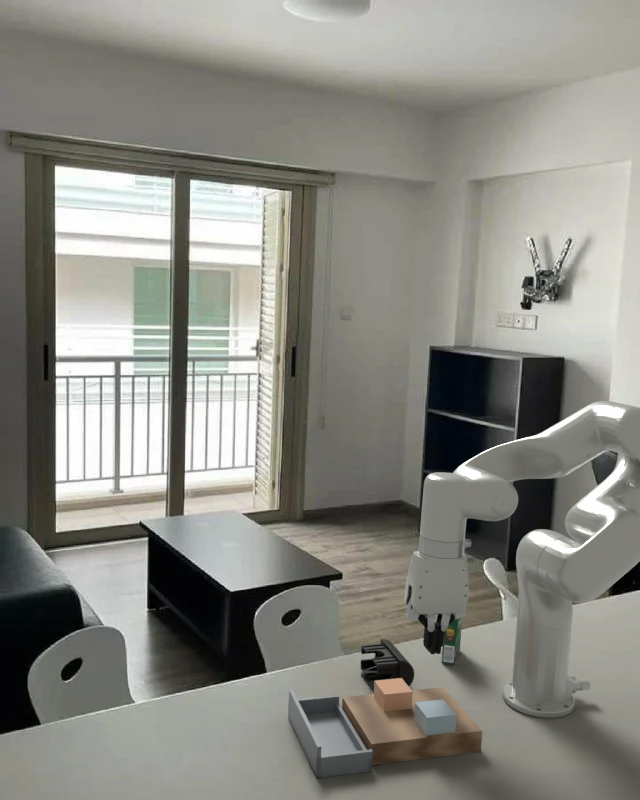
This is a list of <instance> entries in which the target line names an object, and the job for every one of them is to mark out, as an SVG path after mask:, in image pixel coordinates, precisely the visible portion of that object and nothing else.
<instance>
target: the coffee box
mask: <svg viewBox="0 0 640 800" xmlns="http://www.w3.org/2000/svg"><path fill="white" fill-rule="evenodd" d="M462 622H463V617H462V618H458V619H454V620H453V621H452V622H451V623H450V624H449V625H448V628H447V630H446V631H444V640H443V646H442V648H441V663H444V664H443V665H448V664H450V665H449V666H453V665H454V666H455V665H456V662H457V659H458V656H459V654H460V651H461V638H462Z"/></svg>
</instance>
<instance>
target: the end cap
mask: <svg viewBox="0 0 640 800" xmlns="http://www.w3.org/2000/svg"><path fill="white" fill-rule="evenodd" d="M379 641H380V643H377V644H376V643H375V644H365V645H361V647H360V649H361V650H360V653H361V655H366V654H367V655H368V654H374V657H371V658H363V659H360V670H361V672H360V676H361V678H362V679H363V680H364V682H365V683H366V684H367V686H368V687H369V688H370V690H371V691H372V694H374V681H376V680H386V679H397V678H402V679H403V680H404V681H405V683H406V684H407V685H408V686H409V687H410V686H412V683H413V681H414V679H415V670H414V667H413V666H412V664H411V663H410V662H409V661H408V660H407V659H406V657H405V656H404V655H403V654H402V653H401V651H400V650H399V649H398V648H397V647H396V646H395V645H394V644H393V642H391V640H388V639H385V638H380V640H379Z"/></svg>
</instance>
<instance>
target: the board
mask: <svg viewBox="0 0 640 800" xmlns="http://www.w3.org/2000/svg"><path fill="white" fill-rule="evenodd" d="M411 690H412V691H413V694H412V709H403V710H394V711H383V710H382V708H381V707H380V706H379V704H378V703H377V701H376V700H375V698H374V693H372V694H364V695H363V694H362V695H352V696H344V697H342V699H341V700H342V701H341V703H342V704H341V707H342V709H343V711H344V712H345V714H346V716H347V717H348V719H349V721H350V722H351V724H352V726H353V727H354V729H355V731H356V732H357V734H358V736H359V737H360V739H361V741H362V742H363V744H364V746H365V747H366V749H367V750H370V749H372V751H373V758H372V766H375V765H383V764H390V763H399V762H407V761H413V760H414V761H417V760H423V759H430V758H440V757H445V756H446V757H447V756H454V755H462V754H471V753H479V752H482V743H483V742H482V741H483V740H482V739H483V730H482V729H481V728H480V727H479V725H478V724H477V723H476V722H475V721H474V720H473V719H472V718H471V716H470V715H469V714H468V713H467V712H466V711H465V709H464V708H463V707H462V705H460V704H459V703H458V702H457V701H456V699H455V698H454V697H453V696H452V695H451V693H449V691H448V690H447V689H446V688H445V687H443V686H442V687H434V688H433V687H431V688H430V687H429V688H422V689H411ZM433 700H444V701H445V702H446V703H447V704H448V705H449V707H450V708H451V709H452V710H453V711H454V712H455V714H456V728H455V732H454V733H445V734H437V735H428V736H426V735H425V734H424V732H423V731H422V730H421V728H420V727H419V726H418V724H417V723H416V722H415V720H414V713H415V702H424V701H433Z"/></svg>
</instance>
